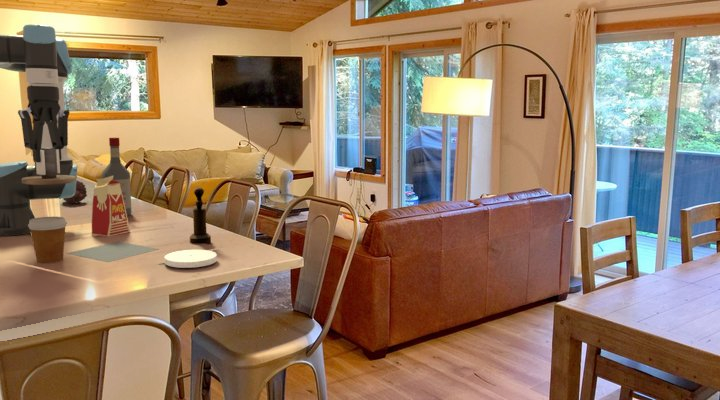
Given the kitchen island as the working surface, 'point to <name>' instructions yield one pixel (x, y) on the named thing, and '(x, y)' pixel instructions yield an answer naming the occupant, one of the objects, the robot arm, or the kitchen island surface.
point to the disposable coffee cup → (48, 238)
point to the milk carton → (108, 209)
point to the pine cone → (78, 193)
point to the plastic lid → (190, 258)
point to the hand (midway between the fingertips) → (48, 173)
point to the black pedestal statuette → (199, 220)
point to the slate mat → (112, 251)
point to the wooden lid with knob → (49, 172)
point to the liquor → (119, 173)
